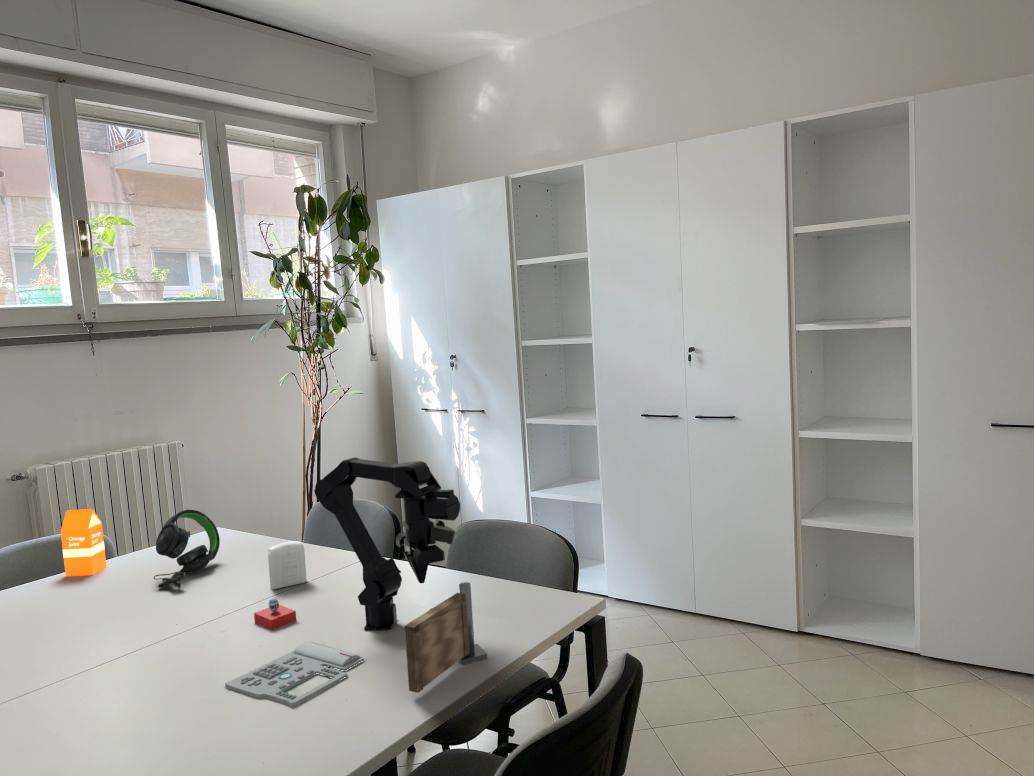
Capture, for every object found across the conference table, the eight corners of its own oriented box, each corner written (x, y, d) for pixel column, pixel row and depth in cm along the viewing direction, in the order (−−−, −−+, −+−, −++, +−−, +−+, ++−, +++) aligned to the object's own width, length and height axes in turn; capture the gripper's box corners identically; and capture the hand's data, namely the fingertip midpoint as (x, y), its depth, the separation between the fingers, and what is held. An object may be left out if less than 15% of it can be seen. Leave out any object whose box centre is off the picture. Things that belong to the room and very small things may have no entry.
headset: (173, 611, 226) (216, 541, 250) (202, 596, 220) (243, 525, 244) (125, 574, 219) (174, 505, 243) (154, 558, 213) (201, 489, 237)
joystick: (296, 621, 191) (294, 597, 190) (272, 631, 186) (269, 606, 185) (279, 614, 196) (277, 590, 196) (254, 623, 191) (252, 599, 190)
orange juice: (93, 575, 238) (86, 512, 236) (65, 576, 238) (58, 513, 236) (107, 566, 245) (100, 505, 244) (79, 568, 246) (72, 507, 244)
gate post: (477, 647, 169) (472, 577, 167) (487, 658, 163) (483, 585, 162) (451, 654, 166) (446, 582, 165) (461, 664, 161) (456, 591, 160)
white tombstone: (304, 578, 223) (300, 537, 222) (309, 582, 219) (305, 540, 218) (268, 587, 217) (264, 544, 216) (272, 591, 214) (269, 547, 212)
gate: (461, 651, 164) (457, 592, 163) (469, 653, 163) (465, 594, 162) (409, 690, 148) (404, 625, 147) (418, 692, 147) (413, 627, 146)
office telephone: (311, 635, 176) (374, 652, 165) (312, 646, 176) (375, 664, 165) (223, 677, 157) (288, 699, 146) (224, 689, 157) (289, 712, 146)
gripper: (464, 520, 171) (468, 587, 173) (437, 503, 188) (441, 565, 190) (416, 528, 167) (421, 597, 168) (393, 510, 184) (397, 574, 185)
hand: (421, 582), depth 178 cm, fingers closed
